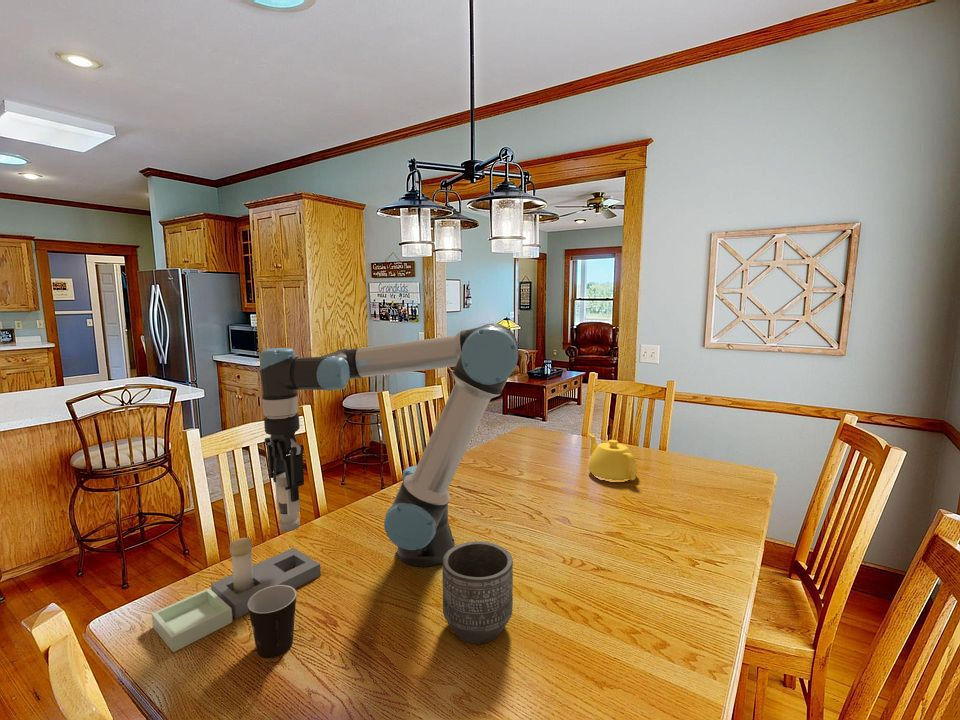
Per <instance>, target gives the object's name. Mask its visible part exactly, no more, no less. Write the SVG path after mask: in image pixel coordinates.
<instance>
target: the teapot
mask: <svg viewBox="0 0 960 720" xmlns="http://www.w3.org/2000/svg"><path fill="white" fill-rule="evenodd" d="M587 434H588V436H589V438H590V448H589V455H590V457H589V461H588V464H587V469H588V471H589V473H590V472H591V473H592V474H593V475H595V476H598V477H601V478H605V479H612V480H624V479H629V480H630V481H634V480H636V476H637V473H638V468H637V462H636V460H635V457H634V455H633V453H632V451H631V450H630V449H629V448H628V446H627V445H625V444H622V443H620V442H619V441H618V440H616V439H609V440H608V442H603V443H599V444H598V442H597V439H596V436H595V435H594V434H593V433H591V432H587ZM591 473H590V474H591ZM592 474H591V475H592ZM593 475H592V476H593ZM635 475H636V476H635Z"/></svg>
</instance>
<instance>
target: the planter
mask: <svg viewBox="0 0 960 720" xmlns="http://www.w3.org/2000/svg"><path fill="white" fill-rule="evenodd" d="M513 565H514V561H513V556H512V554H511V552H510V551H508V550H507V549H506V548H504V547H502V546H501V545H499V544H496V543H493V542H489V541H483V540H482V541H480V540H479V541H478V540H477V541H469V542H463V543H460V544H458V545H455V547H453V548H451V549H450V550H448V551H447V552H446V553H445V555H444V557H443V563H442V613H443V616H444V619H445V620H446V623H447V624H448V626H449V627H450V629H452V631H453V632H454V634H455V635H456V636H457V637H458V638H459V639H460V640H462V641H464V642H466V643H468V644H469V643H470V644H475V645H479V644H481V645H482V644H486V643H490V642H492V641H493V640H495V639H496V638H497V637H498V636H499V635H500V634H501V633H502V632H503V630H504V628H505V627H506V626H507V624H508V623H509V621H510V619H511V618H512V615H513V602H514V599H513V597H514V595H513V588H514V587H513V586H514V585H513V584H514V571H513V570H514V569H513V567H514V566H513Z"/></svg>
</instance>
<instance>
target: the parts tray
mask: <svg viewBox="0 0 960 720" xmlns="http://www.w3.org/2000/svg"><path fill="white" fill-rule="evenodd" d="M151 621H152V624H151V625H152V628H153V630H154V631H155V632H156V633H157V634H158V636H159V637H160V638H161V639H162V641H163V642H164V643H165V644H166V646H167V647H168V648H169V649H170V651H172V653H176V652H177V651H178V650H180V649H183V648H185V647H186V646H187V647H188V646H189V645H190V644H193V643H195V642H196V641H199V640H200V639H203V638H205V637H206V636H208V635H211V634H212V633H214V632H216V631H218V630H220V629H222V628H224V627H226V626H228V625H230V624H231V623H232V624H233V615H232V608H231V607H230V606H228V605H227V604H226V603H225V602H224V601H223V600H222V599H221V598H220V597H218V596H217V595H216V594H215V593H214V592H213V591H212V590H211V588H209V587H208V588H205V589H204V590H202V591H200V592H197V593H195V594H192V595H190V596H187V597H185V598H183V599H181V600H179V601H177V602H174V603H172V604H170V605H168V606H165V607H163V608H160V609H158V610H155V611H154V612H152V613H151Z"/></svg>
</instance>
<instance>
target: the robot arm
mask: <svg viewBox="0 0 960 720" xmlns="http://www.w3.org/2000/svg"><path fill="white" fill-rule="evenodd" d="M518 362H519V347H518V341H517V338H516V335H515V334H514V333H513V332H512V331H511V330H510V329H509V328H508V327H507V326H505V325H503V324H500V323H487V324H484V325H482V326H478V327H474V328H471V329H464V330H459V331H458V332H457V334H456V335H450V336H441V337H434V338H426V339H420V340H412V341H410V340H409V341H404V342H397V343H395V342H394V343H390V344H389V343H387V344H382V345H381V344H379V345H374V346H366V347H365V346H364V347H359V348H352V349H351V348H350V349H348V348H342V349H338V350H336V351H333V352H330V353H327V354H323V355H320V356H308V357H307V356H304V357H302V356H300V357H299V356H296V352H295V350H294V348H291V347H274V348H272V347H271V348H267V349H263V350H262V351H261V352H260V353H259V370H258V371H260V382H261V395H262V400H261V402H262V412H263V413H262V414H263V416H264V419H263V424H264V432H265V434H267V435H270V436H269V437H265V438H264V443H265V447H266V454H267V456H266V457H267V467H268V475H269V477H268V478H270V479H272V480H273V483H274V484H275V498H276V509H277V510H278V511H279V502H278V501H279V499H278V486H277V485H276V475H278V474H280V473H283V472H285V474H286V479H287V485H288V487H285V490H286V499H287V513H288V515H289V516H290V515H293V514H295V513H298V514H299V513H300V512H301V507H300V492H299V487H301V486H304V485H305V475H304V474H305V473H304V455H303V454H304V451H305V450H304V449H305V447H304V444H300V445H299V444H298V443H297V438H296V435H295V434H296V432H298V431H299V430H300V426H301V425H300V424H301V423H300V416H299V414H298V412H299V403H298V402H299V398H298V391H301V390H302V391H328V392H332V391H338V390H343V389H345V388H346V387H347V385H348V383H349V380H352V379H353V380H355V379H361V378H367V377H375V376H377V377H379V376H385V375H394V374H400V373H402V374H403V373H409V372H410V373H412V372H419V371H427V370H436V369H445V368H452V367H454V369H453V371H452V375H453V376H452V377H453V378H454V382H455V383H454V385H453V387H452V390H451V392H450V394H449V395H448V399H447V400H446V403H445V405H444V407H443V409H442V411H441V414H440V415H439V417H438V420H437V423H436V425H435V427H434V429H433V431H432V433H431V435H430V438H429V439H428V441H427V444H426V446H425V448H424V450H423V453H422V455H421V457H420V459H419V461H418V463H417V465H412V466H409V467H406V468H405V469H403V471H402V476H401V479H402V482H401V485H400V487H399V489H398V492H397V493H396V496H395V498H394V499H393V502H392V504H391V506H390V507H389V508H388V509H387V511H386V513H385V518H384V519H383V521H384V522H383V528H384V532H385V533H386V535H387V538H388V539H389V541H391V542H392V544H394V545H395V546H396V547H397V556H398V558H399V560H400V561H401V562H403V563H405V564H406V565H409V566H412V567H423V568H424V567H427V568H428V567H433V566H434V567H435V566H437V565H441V564H443V557H444V555H445V553H446V552H447V551H448V550H450V549H451V548H453V547H455V546H456V541H455V539H454V535H453V534H452V530H451V527H450V524H449V502H450V500H451V495H450V492H449V487H450V485H451V483H452V482H453V478H454V476H455V475H456V472H457V470H458V468H459V466H460V464H461V461H462V460H463V457H464V456H465V454H466V451H467V449H468V448H469V445H470V443H471V442H472V439H473V436H474V434H475V432H476V430H477V429H478V426H479V424H480V422H481V420H482V418H483V415H484V414H485V412H486V410H487V407H488V405H489V403H490V401H491V400H492V399H494V398H496V397H499V396H501V394H502V392H503V390H504V387H505V385H506V383H507V382H508V379H509V378H510V376H511V374H512V373H514V370H515V369H516V367H517V364H518Z"/></svg>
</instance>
